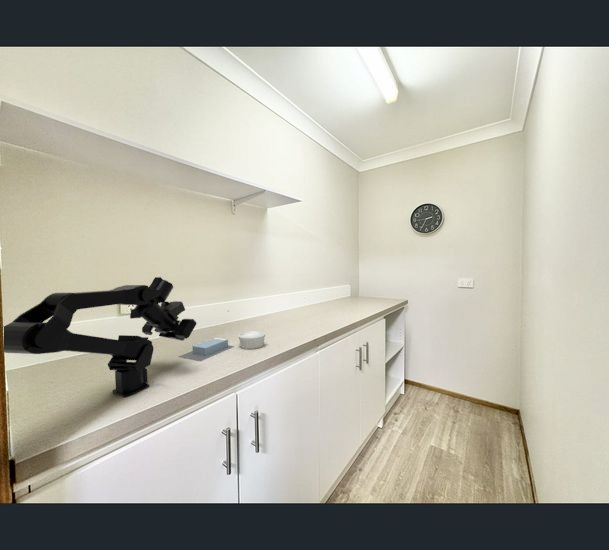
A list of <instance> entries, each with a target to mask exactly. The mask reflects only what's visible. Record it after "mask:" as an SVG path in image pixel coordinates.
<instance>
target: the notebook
mask: <svg viewBox="0 0 609 550" xmlns="http://www.w3.org/2000/svg"><path fill="white" fill-rule="evenodd" d="M228 345H229V339H227V338H219V337H214V338H211V339H208V340H205V341H202V342H200V343H196V344H194V345H192V351H193V354H198V355H203V356H207V355H209V354H212V353H214V352H216V351H219V350H221V349H223V348H226V347H228Z"/></svg>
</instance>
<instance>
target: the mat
mask: <svg viewBox="0 0 609 550" xmlns="http://www.w3.org/2000/svg"><path fill="white" fill-rule="evenodd" d="M232 348H235V345H229V344H228V347H226V348H223V349H221V350H219V351H216V352H214V353H212V354H209V355H207V356H203V355H198V354H193V350H192V351H189V352H186V353H183V354H181V355H179V356H177V358H182V359H186V360H192V361H197V362H203V361H204V360H207V359H210V358H211V357H214V356H217V355H219V354H220V353H221V354H222V353H224V352H225V351H228V350H230V349H232Z"/></svg>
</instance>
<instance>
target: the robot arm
mask: <svg viewBox="0 0 609 550" xmlns="http://www.w3.org/2000/svg"><path fill="white" fill-rule="evenodd" d="M173 289H174V285H173V283H171V282H169V281H168V280H166V279H162V277H161V276H159V277H158V276H157V277H154V278H153V280H152V282H151V283H150V285H146V284H134V285H133V284H132V285H131V284H130V285H129V284H125V285H121V286H117V287H115V288H113V289H109V290H95V291H82V292H80V291H79V292H54V293H51V294H49V295H47V296H45V298H44V299H43V300H42V301H41V302H39V303H38V304H36V305H35V306H33V307H30V309H28V310H26V311H25V312H23V313H20V314H19V315H18V316H17V317H16V318H15V319H13V321H11V322H9V323H8V324H6V325H4V326H3V327H4V352H3V353H5V354H6V353H7V354H21V355H22V354H26V355H27V354H28V355H41V354H42V355H43V354H44V355H45V354H51V353H52V354H54V353H60V352H74V353H84V354H85V353H86V354H98V355H110V356H111V358H110V360H109V362H108V363H107V367H108V369H109V371H114V376H115V378H114V379H115V381H114V382H115V383H114V384H115V388H114V389H112V393H113V394H116V395H119V396H122V397H128V396H131V395H133V394H135V393H137V392H140V391H142V390H144V389H147V388H149V387H150V383H148V367H149V366H151V363H152V358H153V354H154V345H153V341H152V340H150V339H149V337H146V336H147V335H149V336H152V335H153V331H154V332H155V333H158V336H159V337H160V338H166V339H171V340H177V341H182V342H183V341H185V339H188V338H189V337H190V336H191V334H192V333H193V331H194V329H195V327H196V326H197V323H198V322H197V321H196V320H195V319H194V318H182V319H181V320H180V319H179V318H180V317H179V315H180V314H182V313H183V312H185V310H186V308H185V305H184V302H183V301H175V300H174V301H167V299H168V297H169V296H170V294H171V292H172V291H173ZM113 305H118V306H119V305H120V306H121V305H122V306H135V307H134V308H132V309H130V314H129V318H130V319H141V318H142V319H144V320H145V321H146V322H145V323H144V325H142V328H141V332H142V333H143V335H144V334H145V335H146V336H139V335H125V334H123V335H118V338H117V339H113V338H108V337H107V338H106V337H101V336H100V337H99V336H95V335H94V336H93V335H88V334H87V335H86V334H79V333H74V332H71V330H69V329H68V328H69V327H70V326H71V324H72V323H71V322H72V320H73V317H74V314H75V313H76V312H77V311H78V310H83V309H90V308H91V309H92V308H98V307H101V308H102V307H107V306H113ZM178 319H179V320H178ZM47 320H48V321H47ZM45 321H47V322H45ZM153 329H154V330H153ZM152 330H153V331H152Z"/></svg>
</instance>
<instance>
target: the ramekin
mask: <svg viewBox="0 0 609 550" xmlns="http://www.w3.org/2000/svg"><path fill="white" fill-rule="evenodd" d="M265 337H266V333H265V332H263V331H255V330H254V331H252V330H251V331H246V332H242V333H240V334H238V340H239V345H240V347H241V348H242V349H244V350H254V349H260V348H262V347H263V346H264V343H265Z"/></svg>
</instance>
